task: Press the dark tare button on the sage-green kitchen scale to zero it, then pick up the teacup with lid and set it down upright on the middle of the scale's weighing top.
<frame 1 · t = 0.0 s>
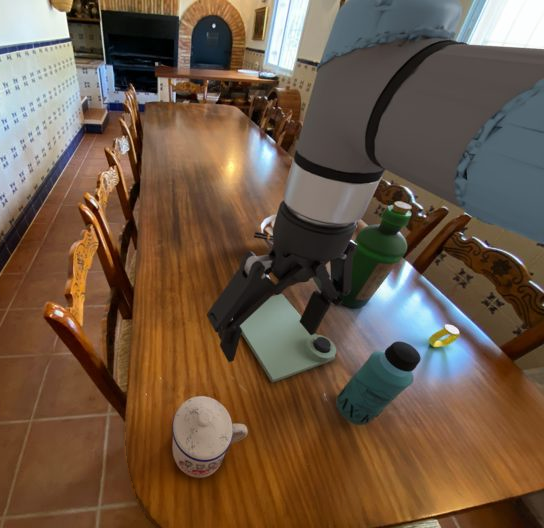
hand: (268, 339, 42), 20 cm above the table, tool pointing down, fingers open, 13 cm apart
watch: (436, 345, 70), on the table
ramen bowl: (290, 252, 95), on the table
teacup with lid: (206, 447, 50), on the table
bottle: (348, 298, 80), on the table
scale: (277, 334, 69), on the table
beverage bottle: (349, 412, 56), on the table
tare button: (322, 344, 63), point 3 cm above the table, slide at 0.1 cm
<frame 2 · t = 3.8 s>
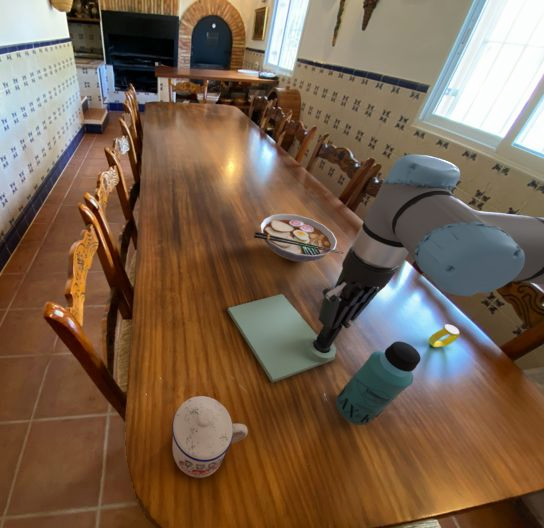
hand: (323, 342, 63), 4 cm above the table, tool pointing down, fingers closed
tare button: (321, 345, 63), point 3 cm above the table, slide at -0.1 cm, touching gripper
everything else where it was.
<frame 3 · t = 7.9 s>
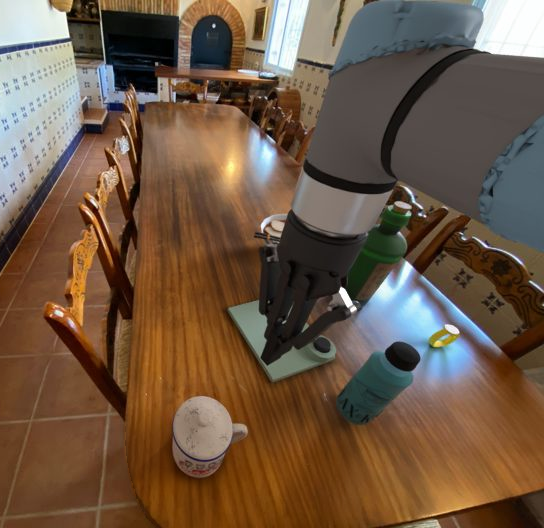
hand: (270, 357, 43), 18 cm above the table, tool pointing down, fingers closed
tare button: (322, 344, 63), point 3 cm above the table, slide at 0.1 cm
everything else where it was.
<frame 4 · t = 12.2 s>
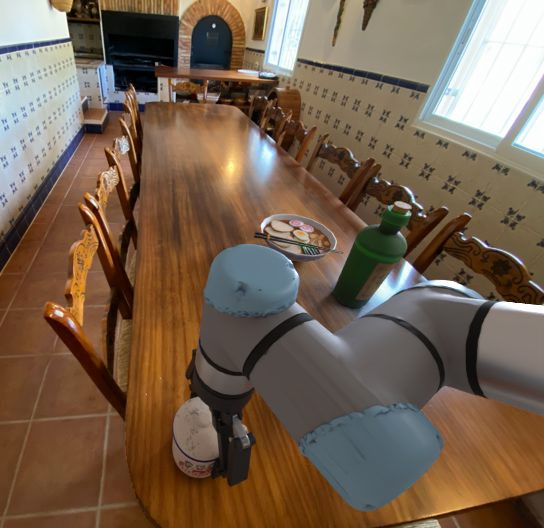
hand: (206, 439, 48), 2 cm above the table, tool pointing down, fingers closed on teacup with lid, 9 cm apart
teacup with lid: (206, 447, 50), on the table, touching gripper
everything else where it was.
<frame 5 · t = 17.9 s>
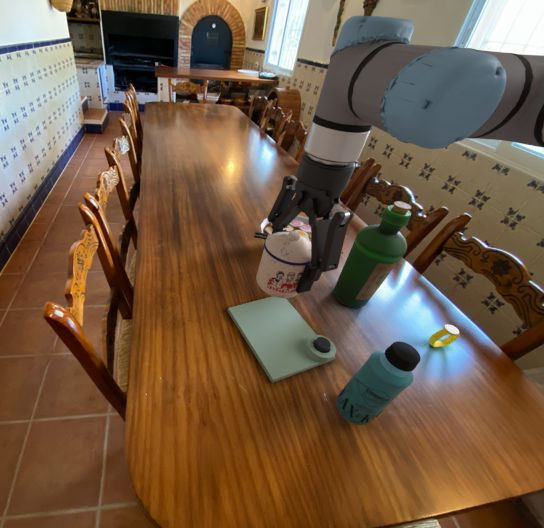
hand: (286, 273, 57), 19 cm above the table, tool pointing down, fingers closed on teacup with lid, 9 cm apart
teacup with lid: (284, 283, 58), point 16 cm above the table, touching gripper
everything else where it was.
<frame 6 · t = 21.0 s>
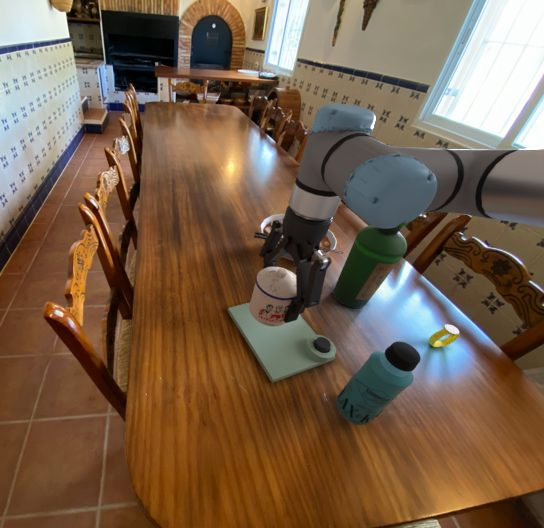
hand: (276, 303, 63), 10 cm above the table, tool pointing down, fingers closed on teacup with lid, 9 cm apart
teacup with lid: (274, 311, 64), point 7 cm above the table, touching gripper
everything else where it was.
when the fingers open (3 cm above the table, at t = 23.7 s): teacup with lid stays where it is, resting on scale.
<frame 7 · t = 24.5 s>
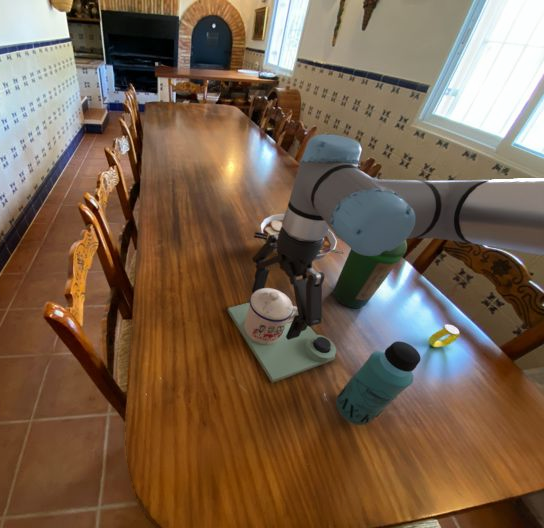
hand: (273, 312, 65), 7 cm above the table, tool pointing down, fingers open, 13 cm apart
teacup with lid: (268, 329, 68), point 1 cm above the table, touching scale
everything else where it was.
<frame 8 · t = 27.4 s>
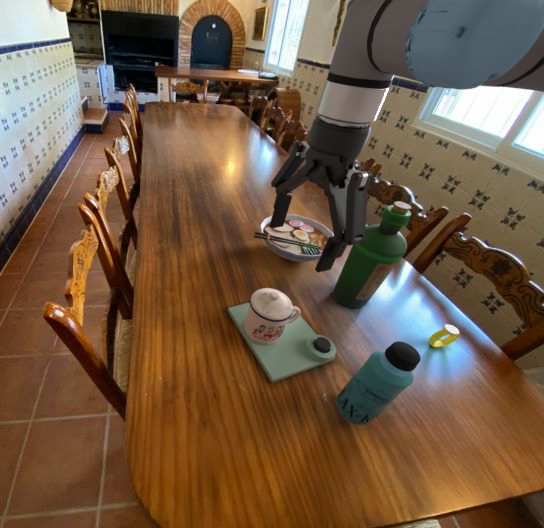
hand: (297, 246, 54), 25 cm above the table, tool pointing down, fingers open, 13 cm apart
nothing on the table moved.
at the end: tare button pushed in 1.0 cm at the most during the clip, back to where it started at the end; teacup with lid inside the target area on the scale (0.4 cm from its centre), point 1.0 cm above the scale's base; teacup with lid tilted 0° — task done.
